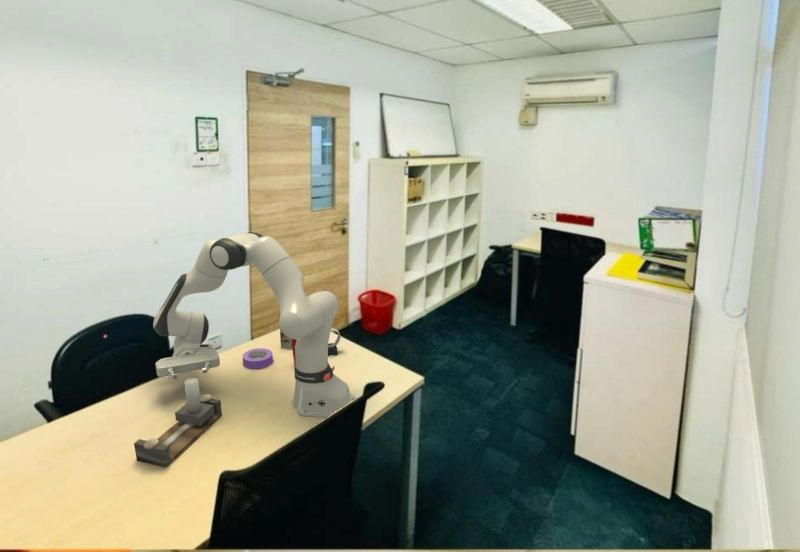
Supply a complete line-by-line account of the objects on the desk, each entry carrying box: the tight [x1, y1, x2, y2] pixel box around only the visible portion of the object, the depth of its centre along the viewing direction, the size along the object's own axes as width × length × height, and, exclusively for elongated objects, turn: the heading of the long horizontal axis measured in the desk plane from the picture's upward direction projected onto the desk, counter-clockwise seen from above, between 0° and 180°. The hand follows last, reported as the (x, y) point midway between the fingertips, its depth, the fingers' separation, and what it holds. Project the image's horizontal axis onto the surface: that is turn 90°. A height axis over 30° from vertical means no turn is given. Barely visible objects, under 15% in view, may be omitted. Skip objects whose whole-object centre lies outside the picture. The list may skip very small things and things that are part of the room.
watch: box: [328, 327, 341, 357], centre depth 198 cm, size 6×8×11 cm
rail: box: [133, 394, 223, 469], centre depth 143 cm, size 28×10×7 cm, turn 166°
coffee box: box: [278, 313, 293, 350], centre depth 204 cm, size 9×6×16 cm
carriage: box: [174, 377, 215, 426], centre depth 147 cm, size 7×9×13 cm
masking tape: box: [242, 347, 274, 370], centre depth 189 cm, size 12×12×4 cm
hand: (189, 374), depth 156 cm, fingers open, 8 cm apart
